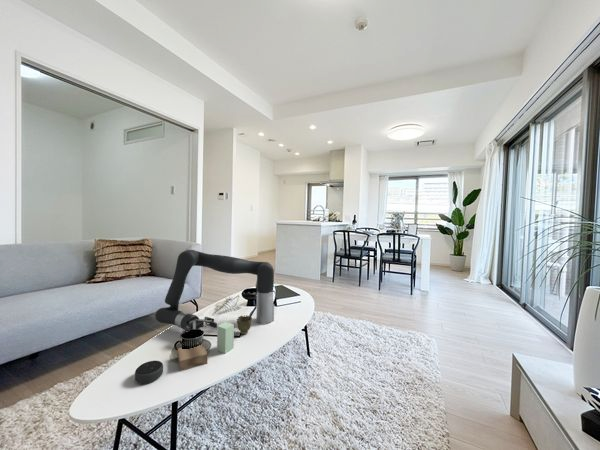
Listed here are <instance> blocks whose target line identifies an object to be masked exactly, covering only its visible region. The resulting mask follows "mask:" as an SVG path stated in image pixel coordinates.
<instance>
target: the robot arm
mask: <svg viewBox="0 0 600 450" xmlns="http://www.w3.org/2000/svg"><path fill="white" fill-rule="evenodd" d="M194 266H197V267H206V268H207V269H208V268H209V269H212V270H213V271H216V272H220V273H225V274H231V275H238V274H239V275H240V274H248V275H249V274H251V275H255V276H256V315H255V317H256V322H257V324H261V325H266V324H267V325H268V324H271V323H272V322H273V321H275V304H274V285H275V284H274V282H275V279H274V278H275V277H274V276H275V270H274V267H273V265H272V263H270V262H268V261H255V260H247V259H243V258H239V257H234V256H228V255H221V254H209V253H205V252H201V251H198V250H195V249H185V250H184V251H182V252H180V253H179V255H178V256H177V260H176V264H175V269H174V274H173V277H172V281H171V283H170V286H169V288H168V290H167V293H166V296H165V298H164V303H165V304H166V305H169V306H167V307H160V308H159V309H157V310H156V312H155V314H154V316H155V320H156V321H157V322H158V323H161V324H167V325H169V324H170V325H173V326H175V327H177V328H180V329H182V330H181V331H182V333H183V332H186V331H189V330H195V329H196V330H201V331H202V332H203V330H202V329H201V328H207V327H210V328H211V327H212V328H214V329H216V328H217V326H218V323H217V322H215V318H212V317H208V316H205V317H204V319H203V318H201V319H200V318H199V316H197V315H196V314H192V313H190V312H185V311H181V310H179V305H180V300H181V298H182V294H183V292H184V288H185V284H186V280H187V277H188V274H189V273H190V270H191V269H192V267H194Z"/></svg>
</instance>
